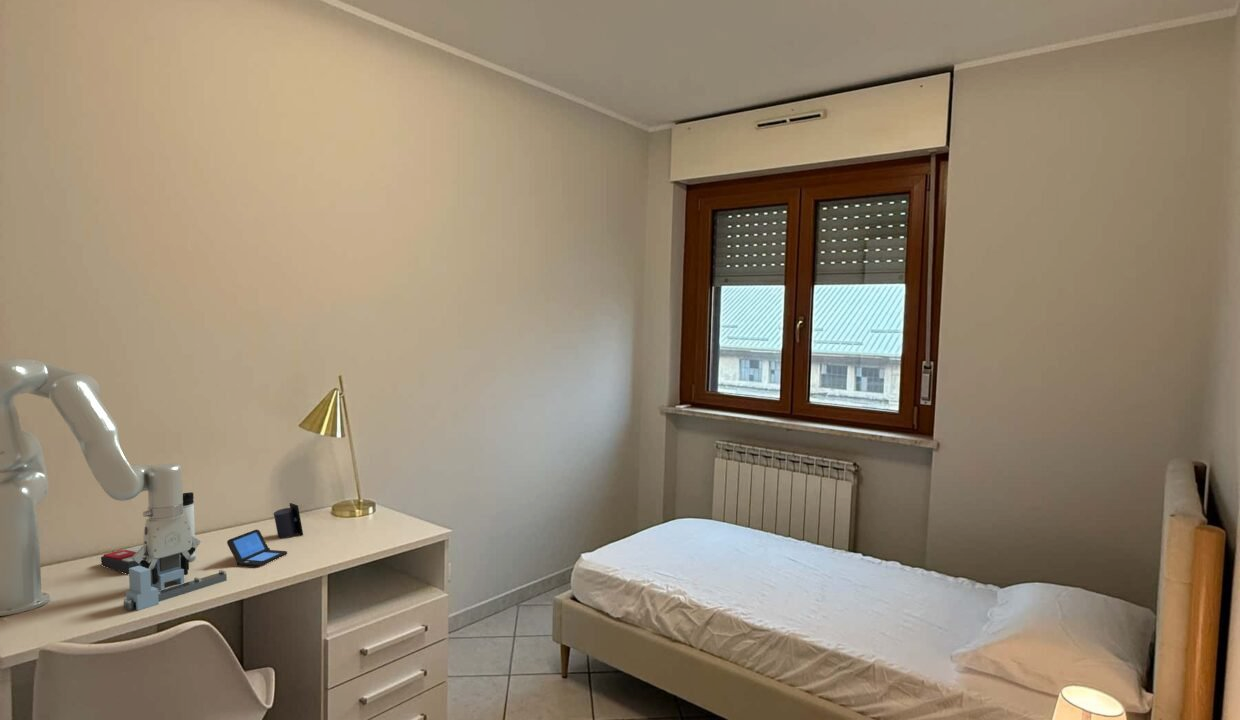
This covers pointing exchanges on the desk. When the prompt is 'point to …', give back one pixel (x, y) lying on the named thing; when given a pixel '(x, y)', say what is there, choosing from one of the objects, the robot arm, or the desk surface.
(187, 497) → the travel mug
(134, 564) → the calculator
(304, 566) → the desk surface
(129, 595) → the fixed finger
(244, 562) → the handheld game console
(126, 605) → the rail
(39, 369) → the robot arm
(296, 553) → the desk surface
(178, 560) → the notched grey block
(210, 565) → the desk surface
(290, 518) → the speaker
